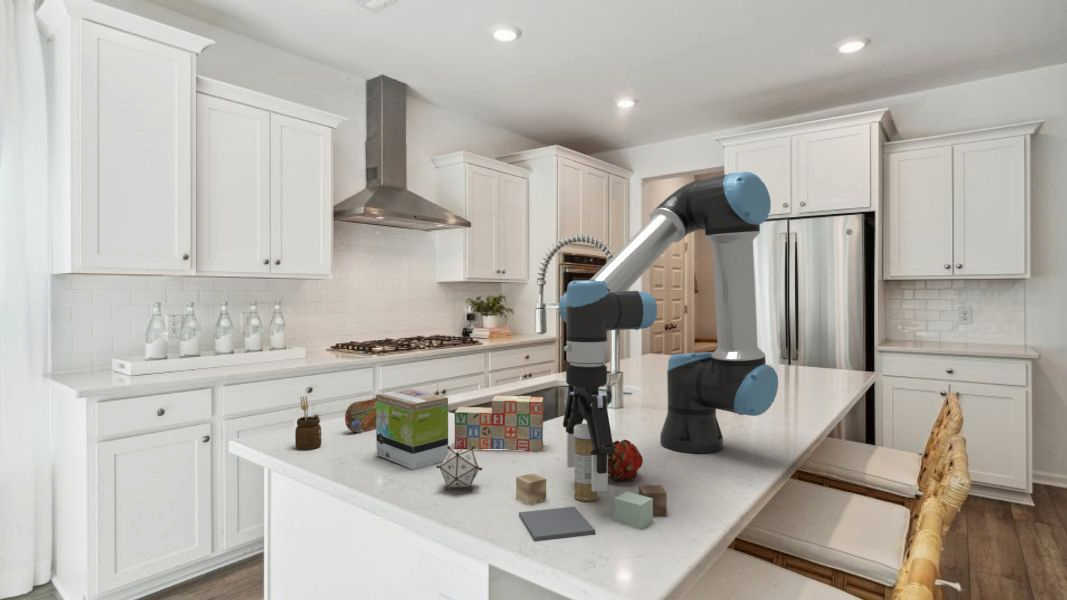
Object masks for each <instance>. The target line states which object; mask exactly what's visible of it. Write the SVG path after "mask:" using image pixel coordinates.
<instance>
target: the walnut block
mask: <svg viewBox="0 0 1067 600" xmlns="http://www.w3.org/2000/svg"><path fill="white" fill-rule="evenodd" d="M638 495H642V496H646V497H650V498H653V517H667V515H668V513H667V507H668V506H667V504H668V503H667V502H668V500H667V499H668V498H667V497H668V494H667V491H666V490H665V489H664V487H663V486H662V485H661V484H659V485H657V484H651V485H650V484H649V485H648V484H646V485H645V484H640V485H638Z"/></svg>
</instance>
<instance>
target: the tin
mask: <svg viewBox="0 0 1067 600" xmlns="http://www.w3.org/2000/svg"><path fill="white" fill-rule="evenodd" d="M344 422H345V425H346V428H347V429H348V430H350V431H351V432H354V433H359V434H362V433H367V432H370V431H372V430H373V431H374V430H376V397H373V398H367V399H364V400H359V401H355V402H353V403H350V405H349V406H348V407H347V409H346V410H345V415H344Z"/></svg>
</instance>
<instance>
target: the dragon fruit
mask: <svg viewBox="0 0 1067 600" xmlns="http://www.w3.org/2000/svg"><path fill="white" fill-rule="evenodd" d="M613 447H614V452H613V453H609V454H608V475H610V478H611V479H612V480H615V481H616V482H621V481H623V480H624V478H626V479H628V480H633V481H634V480H636V479H637V476H638V475H637V473H638V470H639V469H641V468H642V466H643V462H644V461H643V456H642V454H641V453H640V450H639V449H638V447H637V446H636V445H635V444H634V443H632V442H631V441H630V440H628V439H622V440H615V441H613Z"/></svg>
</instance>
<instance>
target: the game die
mask: <svg viewBox="0 0 1067 600" xmlns="http://www.w3.org/2000/svg"><path fill="white" fill-rule="evenodd" d="M473 449H474V446H473V447H472V448H471V449H455V448H451V446H450V445H448V453H447V455H446V456H445V458H444V460H443V462H440V465H436V466H435V468H436V469H440V472H441V474H442V477H443V480H444V482H445V485H446V486H445V488H444V491H447V490H448V488H469V491H471V492H472V491H473V487H472V485H473V482H474V481H475V479H476V477H477V474H479V471H482V470H483V468H482V467H481V466H479V463H478V462H477V459H476V456H475V454H474V450H473Z"/></svg>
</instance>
